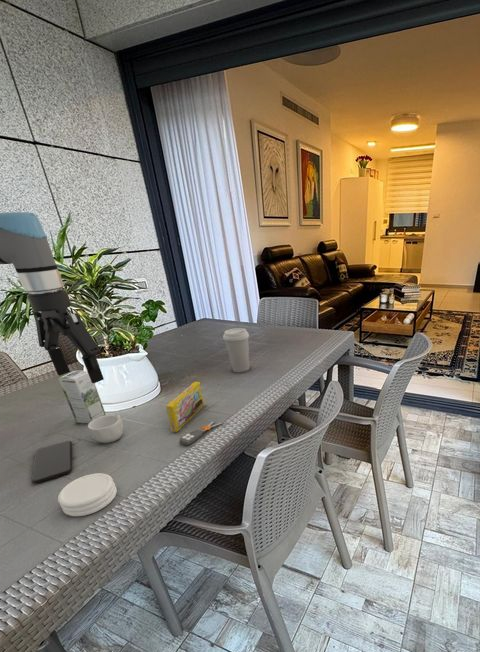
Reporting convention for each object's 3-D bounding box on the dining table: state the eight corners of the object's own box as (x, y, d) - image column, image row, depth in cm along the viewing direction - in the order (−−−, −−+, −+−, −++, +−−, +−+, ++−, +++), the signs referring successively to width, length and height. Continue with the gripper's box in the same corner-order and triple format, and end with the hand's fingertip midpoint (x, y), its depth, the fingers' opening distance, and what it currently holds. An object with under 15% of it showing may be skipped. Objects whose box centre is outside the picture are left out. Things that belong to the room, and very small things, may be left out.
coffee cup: (231, 375, 131) (224, 336, 124) (226, 367, 139) (219, 329, 132) (256, 370, 134) (251, 332, 127) (250, 362, 142) (245, 326, 135)
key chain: (189, 446, 91) (187, 442, 90) (179, 443, 92) (177, 438, 92) (224, 423, 101) (223, 419, 100) (214, 420, 102) (213, 416, 102)
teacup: (115, 447, 92) (108, 429, 89) (88, 446, 93) (80, 429, 90) (136, 427, 100) (130, 410, 98) (111, 426, 101) (105, 410, 99)
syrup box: (90, 413, 109) (73, 369, 102) (107, 414, 108) (90, 370, 101) (75, 422, 104) (56, 377, 97) (92, 424, 103) (74, 378, 96)
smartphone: (37, 451, 91) (32, 485, 79) (35, 449, 91) (30, 482, 79) (72, 442, 95) (73, 472, 83) (71, 439, 94) (71, 469, 82)
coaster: (54, 521, 70) (46, 507, 68) (76, 487, 78) (70, 475, 76) (107, 514, 71) (101, 500, 69) (123, 481, 79) (119, 469, 78)
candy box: (178, 432, 97) (171, 406, 93) (171, 432, 97) (164, 406, 93) (205, 405, 111) (200, 381, 107) (198, 404, 111) (193, 381, 107)
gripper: (97, 290, 77) (126, 378, 87) (31, 285, 87) (65, 365, 97) (63, 296, 71) (99, 390, 82) (-3, 291, 81) (36, 375, 91)
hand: (80, 377), depth 89 cm, fingers open, 13 cm apart
